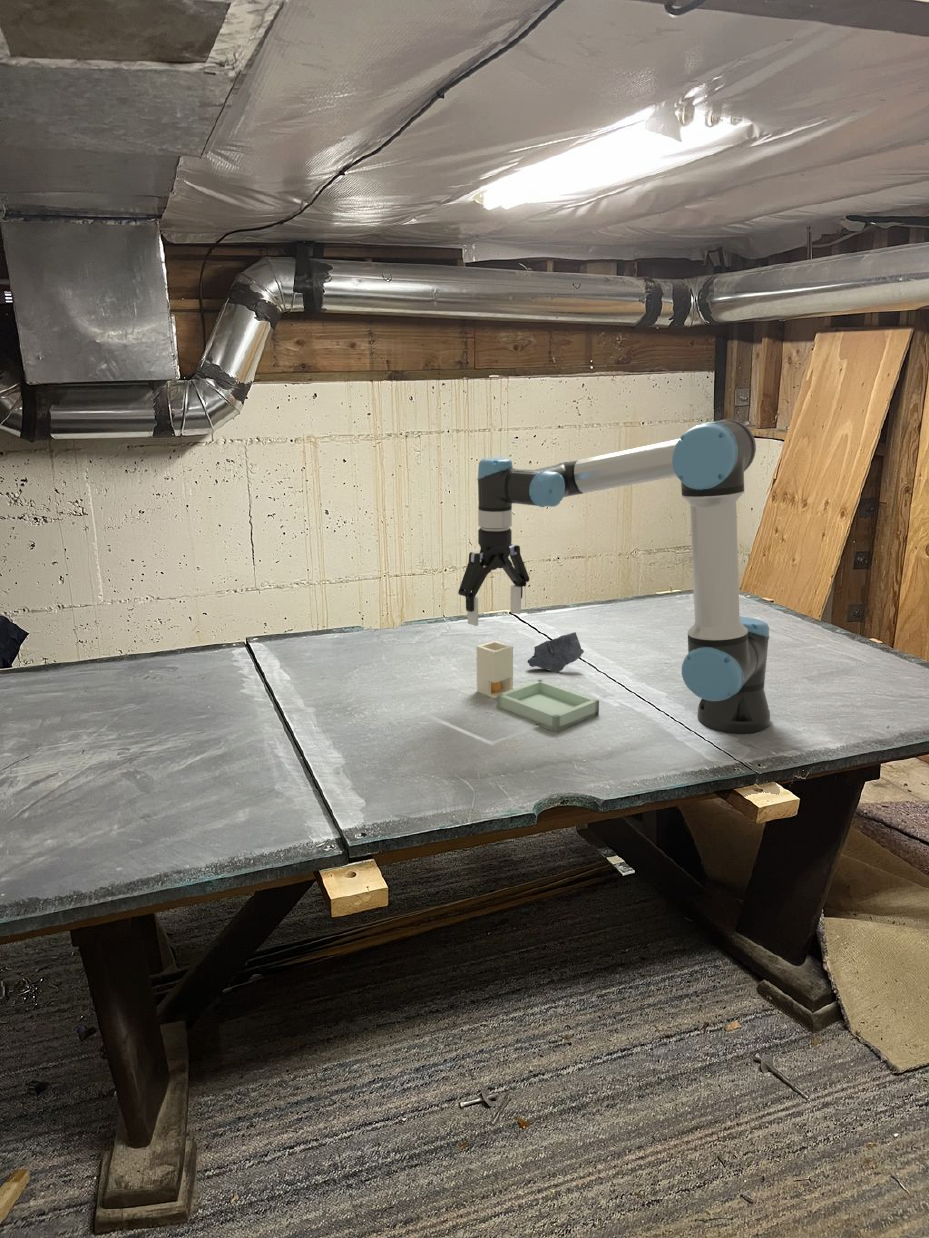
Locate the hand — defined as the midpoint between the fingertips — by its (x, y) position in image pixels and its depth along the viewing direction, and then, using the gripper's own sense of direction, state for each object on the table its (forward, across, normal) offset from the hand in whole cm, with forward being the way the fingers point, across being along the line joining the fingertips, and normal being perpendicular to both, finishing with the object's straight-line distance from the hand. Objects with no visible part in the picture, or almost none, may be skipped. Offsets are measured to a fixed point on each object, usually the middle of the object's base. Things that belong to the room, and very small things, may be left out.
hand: (494, 618), depth 207 cm
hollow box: (+19, 0, 0) cm, 19 cm away
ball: (+18, 0, 0) cm, 18 cm away
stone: (+19, -22, -1) cm, 29 cm away
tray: (+19, -1, +16) cm, 25 cm away
